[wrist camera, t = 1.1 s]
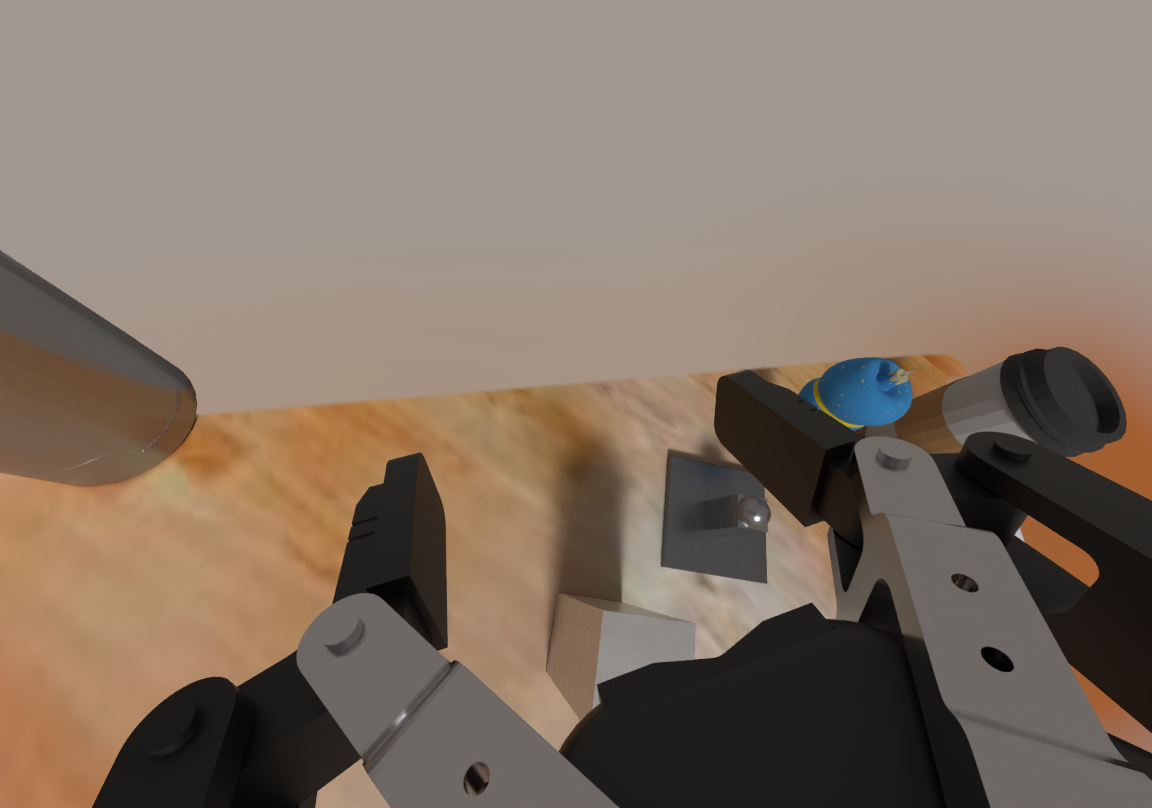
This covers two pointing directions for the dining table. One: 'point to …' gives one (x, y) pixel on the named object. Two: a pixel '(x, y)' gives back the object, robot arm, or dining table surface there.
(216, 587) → the dining table surface
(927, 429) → the coffee cup
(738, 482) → the grey plate with post
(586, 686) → the brushed metal pedestal
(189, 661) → the dining table surface
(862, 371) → the ornament
